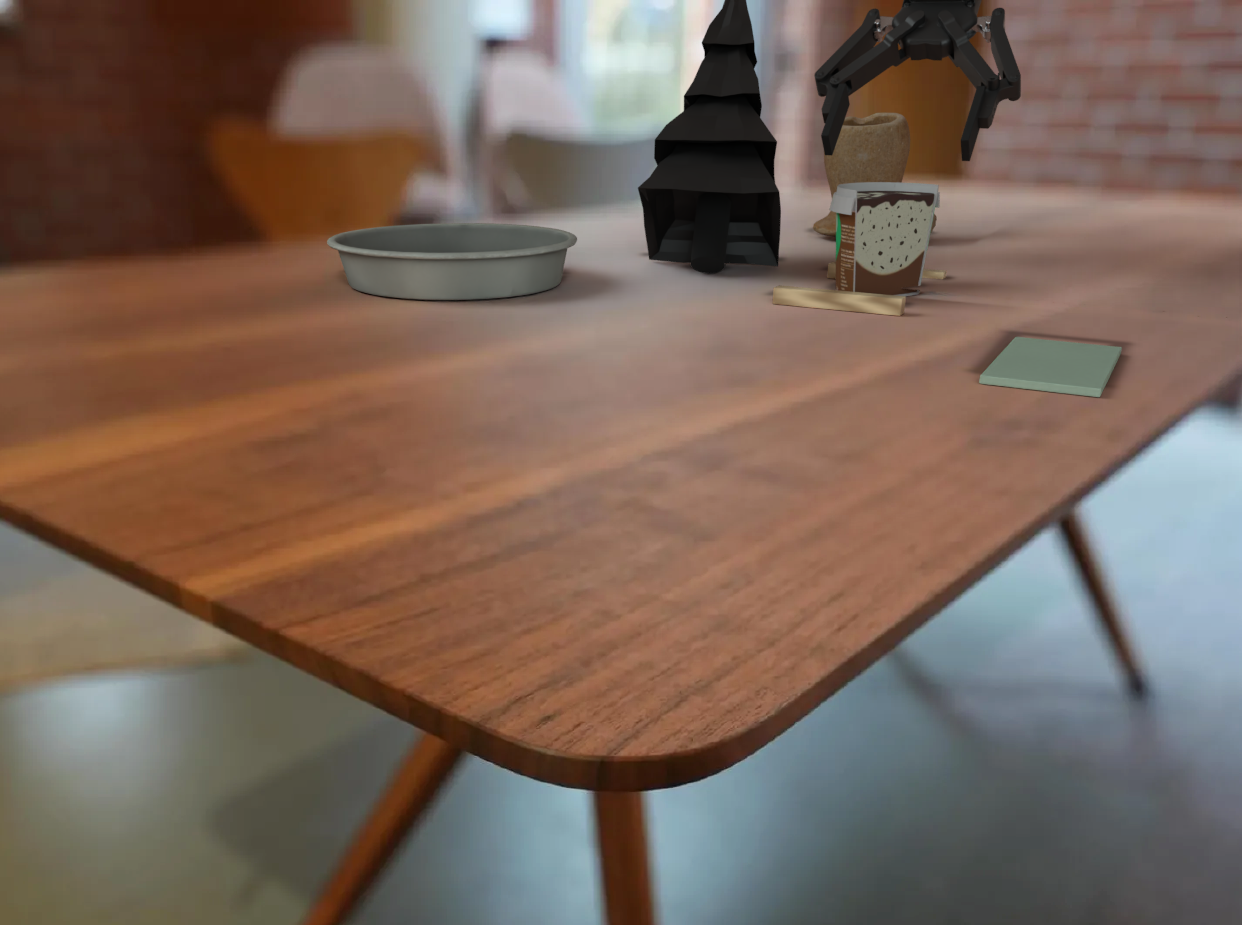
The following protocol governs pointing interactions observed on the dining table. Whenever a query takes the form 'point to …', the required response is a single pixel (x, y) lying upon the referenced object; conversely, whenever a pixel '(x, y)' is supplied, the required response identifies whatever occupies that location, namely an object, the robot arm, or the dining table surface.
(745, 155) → the decorative tree
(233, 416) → the dining table surface
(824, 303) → the rack
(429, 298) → the cake pan
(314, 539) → the dining table surface
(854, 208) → the food container
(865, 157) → the stone cup
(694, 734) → the dining table surface
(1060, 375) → the mat
